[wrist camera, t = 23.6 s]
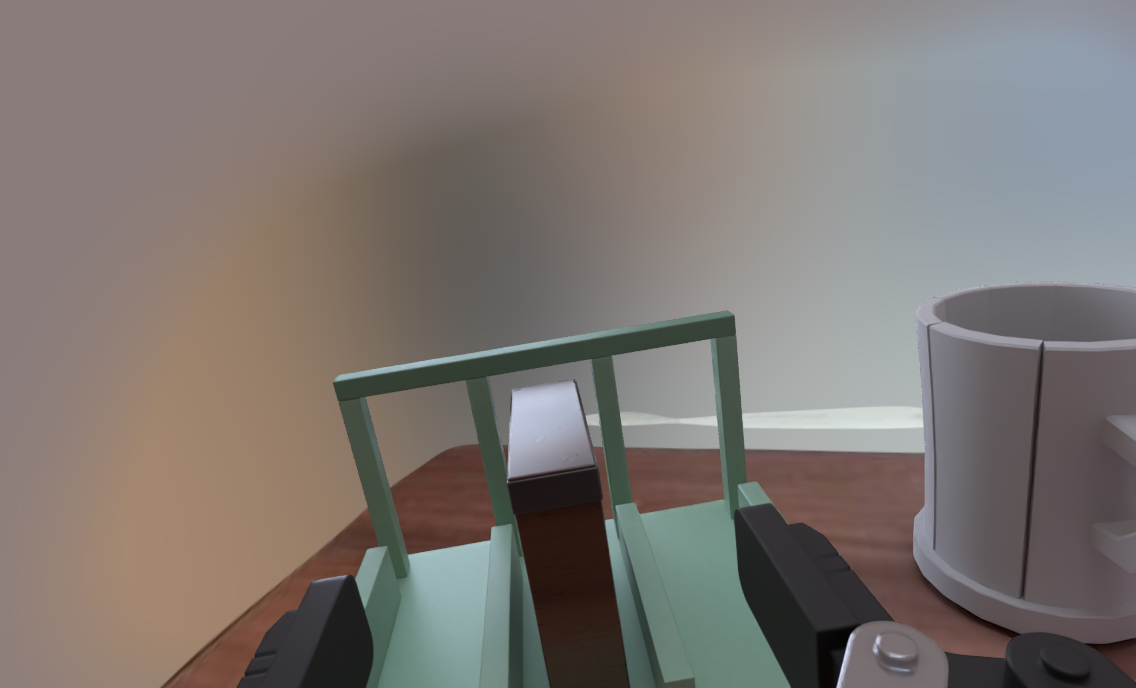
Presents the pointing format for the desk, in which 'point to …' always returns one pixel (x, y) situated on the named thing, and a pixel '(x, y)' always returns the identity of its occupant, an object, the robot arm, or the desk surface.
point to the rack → (497, 569)
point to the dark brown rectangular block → (564, 537)
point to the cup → (1031, 456)
